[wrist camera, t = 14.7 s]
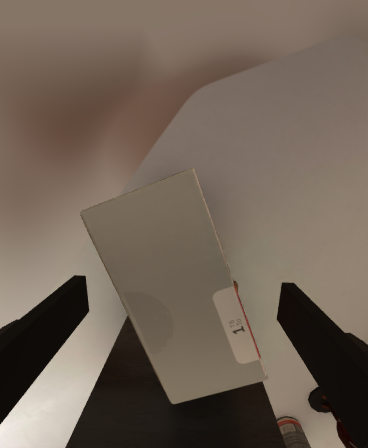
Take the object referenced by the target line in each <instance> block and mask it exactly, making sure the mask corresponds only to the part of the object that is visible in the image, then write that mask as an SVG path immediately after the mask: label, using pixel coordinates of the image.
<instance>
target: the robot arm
mask: <svg viewBox="0 0 368 448" xmlns="http://www.w3.org/2000/svg"><path fill="white" fill-rule="evenodd" d="M88 312H89V305H88V295H87V285H86V276H77V275H74V276H73V277H72V278H71V279H69V280H68V281H67V282H66V283H64V284H63V285H62V286H61V287H59V288H58V289H57V290H56V291H54V292H53V293H52V294H51V295H49V296H48V297H47V298H46V299H44V300H43V301H42V302H41V303H39V304H38V305H37V306H36V307H34V308H33V309H32V310H31V311H29V312H28V313H27V314H26V315H25V316H23V317H22V318H21V319H19V320H15V321H13V322H11V323H9V324H8V325H6V326H4V327H2V328H1V329H0V424H1V423H2V422H3V420H4V419H5V418H6V417H7V415H8V414H9V413H10V412H11V410H12V409H13V408H14V406H15V405H16V404H17V403H18V401H19V400H20V399H21V398H22V396H23V395H24V394H25V392H26V391H27V390H28V389H29V387H30V386H31V385H32V384H33V382H34V381H35V380H36V378H37V377H38V376H39V375H40V373H41V372H42V371H43V370H44V368H45V367H46V366H47V364H48V363H49V362H50V361H51V359H52V358H53V357H54V356H55V354H56V353H57V352H58V350H59V349H60V348H61V347H62V345H63V344H64V343H65V342H66V340H67V339H68V338H69V336H70V335H71V334H72V333H73V331H74V330H75V329H76V328H77V326H78V325H79V324H80V322H81V321H82V320H83V319H84V317H85V316H86V315H87V314H88ZM277 320H278V322H279V323H280V325H281V327H282V328H283V330H284V331H285V333H286V335H287V336H288V338H289V339H290V341H291V342H292V344H293V346H294V347H295V349H296V350H297V352H298V354H299V355H300V357H301V358H302V360H303V362H304V363H305V365H306V366H307V368H308V370H309V371H310V373H311V374H312V376H313V378H314V379H315V381H316V382H317V384H318V386H319V387H320V389H321V390H322V392H323V394H324V395H325V397H326V398H327V400H328V402H329V403H330V405H331V406H332V408H333V410H334V411H335V413H336V414H337V416H338V418H339V419H340V421H341V422H342V424H343V426H344V427H345V429H346V430H347V432H348V433H349V435H350V437H351V438H352V440H353V441H354V443H355V445H356V446H357V448H368V345H367V344H366V343H365V342H364V341H362V340H360V339H359V338H357V337H356V336H354V335H353V334H351V333H344V332H343V331H342V330H341V329H340V328H339V327H338V326H337V325H336V324H335V323H334V322H333V321H332V320H331V319H330V318H329V317H328V316H327V315H326V314H325V313H324V312H323V311H322V310H321V309H320V308H319V307H318V306H317V305H316V304H315V303H314V302H313V301H312V300H311V299H310V298H309V297H308V296H307V295H306V294H305V293H304V292H303V291H302V290H301V289H299V288H298V287H297V286H296V285H295V284H294V283H282V286H281V293H280V300H279V307H278V314H277Z"/></svg>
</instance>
